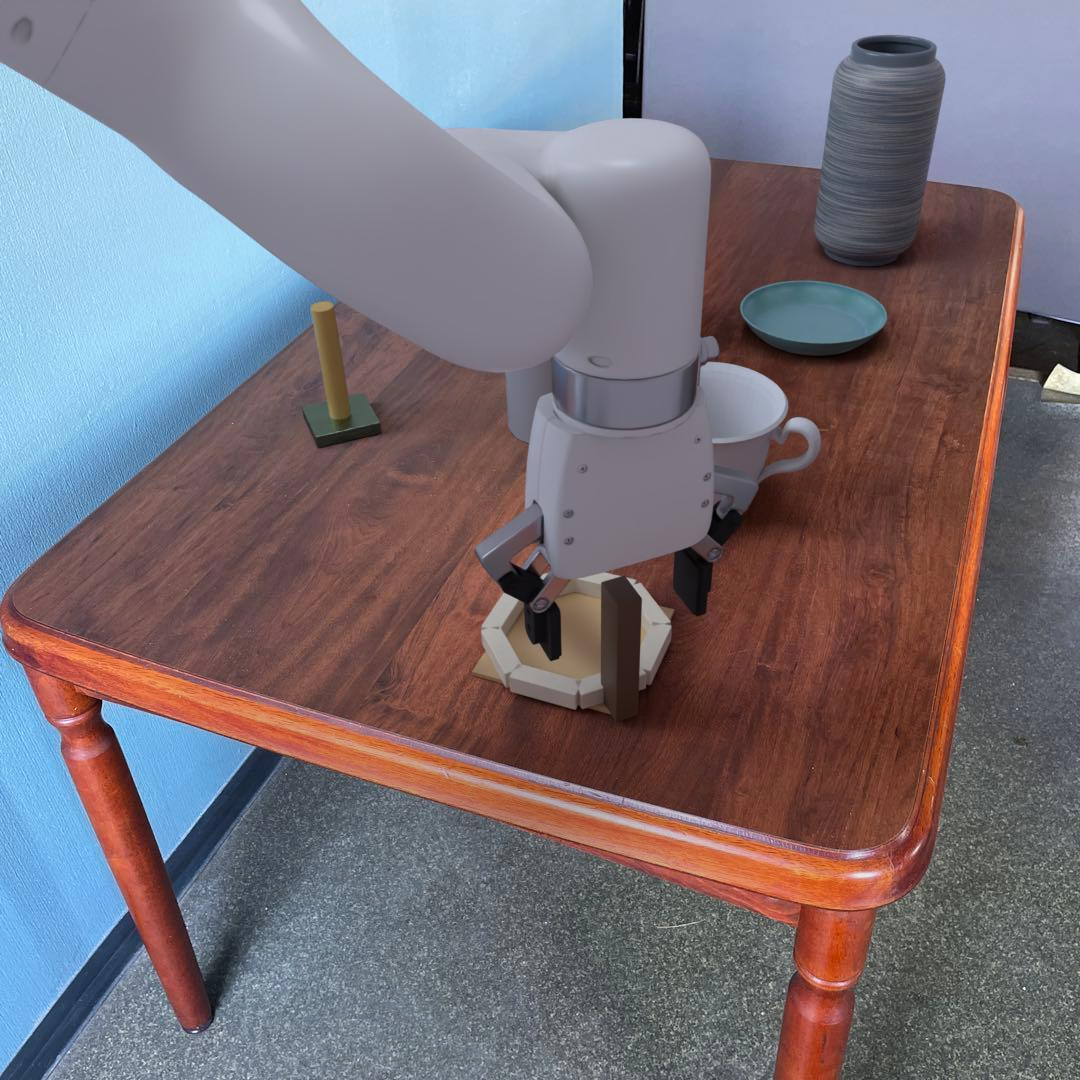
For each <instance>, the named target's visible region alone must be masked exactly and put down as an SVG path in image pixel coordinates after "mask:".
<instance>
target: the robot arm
mask: <svg viewBox="0 0 1080 1080" xmlns="http://www.w3.org/2000/svg"><path fill="white" fill-rule="evenodd" d="M0 63H1V64H3V65H5V66H6V67H7V68H9V69H11V70H12V71H15V73H18V75H19V74H20V75H21V76H22V77H25V78H26V79H27V80H29V81H31V82H33V83H35V84H36V85H38V86H40V87H41V88H42V89H44V90H46V91H48V92H49V93H51V94H53V95H54V96H56V97H57V98H59V99H60V100H62V101H64V102H66V103H68V104H69V105H70V106H72V107H74V108H76V109H78V110H79V111H81V112H82V113H84V114H85V115H87V116H89V117H90V118H92V119H94V120H96V121H97V122H99V123H100V124H102V125H103V126H105V127H107V128H109V129H110V130H112V131H114V132H115V133H116V134H118V135H120V136H122V137H123V138H125V139H126V140H127V141H129V142H130V143H131V144H132V145H133V146H135V147H136V148H137V149H139V150H140V151H141V152H142V153H143V154H145V155H146V156H147V158H149V159H150V160H151V161H152V162H153V163H154V164H155V165H156V166H158V168H159V169H161V170H162V171H163V172H164V173H165V174H167V176H169V177H170V178H172V179H173V180H174V181H175V182H177V183H178V184H179V185H180V186H182V187H183V188H185V190H187V191H189V192H190V193H191V194H193V195H194V196H196V197H197V198H198V199H200V200H202V201H203V202H204V203H205V204H206V205H208V206H209V207H210V208H211V209H213V210H214V211H215V212H217V213H218V214H220V215H221V216H222V217H223V218H225V219H226V220H227V221H229V222H230V223H231V224H232V225H234V226H235V227H236V228H238V229H239V230H240V231H241V232H243V233H244V234H246V236H248V237H249V238H251V239H252V240H253V241H254V242H255V243H256V244H258V245H260V246H261V247H262V248H263V249H264V250H266V251H267V252H269V253H270V254H271V255H273V256H274V257H275V258H277V259H278V260H279V261H280V262H281V263H283V264H284V265H286V266H287V267H288V268H290V269H292V270H293V271H294V272H295V273H297V274H299V275H300V276H301V277H303V278H304V279H306V281H308V282H310V283H312V284H313V285H314V286H316V287H318V288H319V289H320V290H322V291H324V292H325V293H326V294H328V295H330V296H331V297H333V298H334V299H336V300H337V301H339V302H341V303H342V304H344V305H346V306H347V307H349V308H350V309H352V310H354V311H356V312H357V313H359V314H361V316H364V317H367V319H369V320H371V321H373V322H375V323H377V324H379V325H381V327H384V328H386V329H387V330H389V331H391V332H393V333H395V334H396V335H398V336H400V337H401V338H403V339H404V340H407V341H408V342H410V343H412V344H413V345H416V346H417V347H419V348H421V349H423V350H425V351H426V352H428V353H430V354H432V355H434V356H435V357H437V358H440V359H441V360H444V361H446V362H448V363H450V364H454V365H456V366H459V367H461V368H465V369H470V370H473V371H477V372H482V373H483V372H484V373H495V374H501V373H504V374H505V372H516V371H520V370H524V369H528V368H531V367H534V366H536V365H538V364H540V363H543V362H545V361H547V360H549V359H550V358H551V370H552V393H549V394H546V395H543V396H541V397H540V398H539V400H538V402H537V406H536V410H535V414H534V419H533V424H532V429H531V435H530V442H529V443H528V450H527V458H526V459H527V460H526V470H525V485H524V486H525V487H524V510H523V511H521V513H519V514H517V515H516V516H515V517H513V518H512V519H511V520H509V521H508V522H506V523H505V524H504V525H502V526H501V527H500V528H498V529H497V530H496V531H494V532H493V533H492V534H490V535H489V536H487V537H486V538H485V539H483V540H482V541H479V543H478V544H476V546H475V547H474V551H473V553H474V554H475V556H476V558H477V560H478V561H479V563H480V565H481V566H482V568H483V569H484V570H485V571H486V573H487V574H488V576H489V577H491V579H492V580H493V582H495V583H496V584H497V585H498V586H499V588H500V589H501V590H502V592H503V593H506V594H508V595H510V596H512V597H514V598H516V599H518V600H520V601H522V602H524V618H525V629H526V633H527V635H528V638H529V639H530V641H531V643H532V644H533V645H535V644H538V643H539V644H540V645H541V647H542V649H543V650H544V652H545V654H546V655H547V657H548V659H549V660H550V661H554V660H557V659H559V656H562V645H561V612H560V609H559V607H558V605H557V604H556V602H555V599H556V598H557V597H558V596H559V594H560V593H561V592H562V590H563V589H564V588H565V587H566V585H567V584H568V583H569V581H570V580H571V579H577V578H583V577H588V576H592V575H596V574H599V573H603V572H605V573H608V572H611V571H614V570H618V569H620V568H621V569H622V568H625V567H629V566H632V565H635V564H638V563H642V562H645V561H650V560H653V559H656V558H659V557H663V556H665V555H669V554H673V553H674V554H673V570H672V571H673V573H672V574H673V575H672V589H673V591H674V592H675V594H676V595H677V597H678V598H679V599H680V600H681V602H682V603H683V604H684V606H686V608H687V609H688V610H689V611H690V613H691V614H692V615H693V616H696V617H701V616H703V615H705V614H707V610H708V609H707V608H708V596H709V593H710V592H711V591H712V581H713V570H714V563H715V562H718V561H720V559H721V558H722V557H723V555H724V548H723V546H724V545H725V544H726V542H727V541H728V540H729V539H730V538H731V537H732V536H733V535H734V534H735V532H736V531H737V530H738V529H739V528H740V527H741V526H742V525H743V522H744V516H743V514H744V513H745V512H747V511H748V510H749V507H750V506H751V504H752V502H753V500H754V498H755V497H756V495H757V493H758V491H759V489H760V486H759V484H757V483H756V482H755V481H754V480H753V479H752V478H751V477H750V476H749V475H748V474H747V473H745V472H742V471H737V470H733V469H729V468H725V467H720V466H716V465H714V454H713V442H712V432H711V425H710V418H709V412H708V406H707V402H706V397H705V393H704V391H703V389H702V388H701V386H700V385H699V384H700V370H701V366H704V365H706V363H707V362H716V361H717V360H718V359H719V356H720V348H719V343H718V340H717V339H716V338H715V337H714V336H713V335H709V336H703V337H702V336H701V331H702V316H703V315H702V314H703V302H704V301H703V300H704V289H705V287H704V286H705V273H706V260H707V258H706V257H707V245H708V230H709V216H710V205H711V204H710V202H711V190H712V189H711V188H712V164H711V159H710V154H709V152H708V148H707V146H706V145H705V144H704V142H703V140H701V139H702V138H700V137H699V136H698V135H696V134H695V133H694V132H692V131H691V130H689V129H688V128H686V127H684V126H682V125H678V124H675V123H671V122H668V121H664V120H659V119H658V120H657V119H651V118H637V117H635V118H634V117H633V118H632V117H630V118H629V117H628V118H627V117H626V118H625V117H624V118H622V117H621V118H611V119H610V118H609V119H604V120H599V121H594V122H590V123H587V124H584V125H581V126H578V127H576V128H573V129H570V130H529V129H528V130H527V129H509V128H507V129H505V128H492V127H491V128H489V127H447V128H442V127H441V126H440V125H438V124H437V123H436V122H435V121H433V120H432V119H430V118H429V117H428V116H427V115H425V114H424V113H423V112H421V111H420V110H419V109H418V108H417V107H415V106H414V105H413V104H412V103H410V102H409V101H408V100H407V99H405V98H404V97H403V96H402V95H400V94H399V93H398V92H397V91H395V90H394V88H392V87H391V86H389V84H387V83H386V82H385V81H384V80H382V79H381V78H380V77H379V76H378V75H377V74H375V73H374V72H373V71H372V70H371V69H370V68H369V67H367V66H366V65H365V64H364V63H363V62H362V61H360V60H359V58H358V57H356V55H354V54H353V53H352V52H351V51H350V50H349V49H348V48H347V47H346V46H345V45H344V44H342V42H340V41H339V39H337V38H336V37H335V36H334V34H332V33H331V32H330V31H329V29H327V27H326V26H325V25H323V23H322V22H321V21H320V20H319V19H318V18H317V17H316V15H314V14H313V13H312V11H310V9H309V8H308V7H307V6H306V5H305V4H304V3H303V1H302V0H0ZM714 493H717V494H721V495H722V497H721V499H722V500H720V501H718V502H717V503H716V504H715V505H714V506H713V501H714ZM535 544H537V546H536V547H535V548H534V549H533V551H532V552H531V554H530V555H529V556H528V557H527V559H526V560H525V562H524V563H523V564H522V565H521V566H519V565H517V564H515V563H513V562H512V561H511V560H512V559H513V558H514V557H515V556H517V555H518V554H519V553H521V552H522V551H523V550H524V549H527V548H528V547H529V546H530V545H535ZM549 567H550V570H549V571H548V572H547V573H548V574H547V575H546V577H545V578H544V579H543V580H542V579H541V578H540V577H541V576H542V575H543V574H545V573H546V571H547V570H548V569H549Z"/></svg>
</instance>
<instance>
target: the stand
mask: <svg viewBox="0 0 1080 1080" xmlns="http://www.w3.org/2000/svg"><path fill="white" fill-rule="evenodd" d="M310 312H311V318H312V325H313V329H314V335H315V341H316V347H317V352H318V358H319V363H320V370H321V375H322V381H323V386H324V387H323V388H324V393H325V398H326V400H324V401H319V402H314V403H310V404H305V405H302V406H301V410H302V416H303V418H304V421H305V423H306V425H307V427H308V430H309V432H310V434H311V436H312V439H313V441H314V443H315V445H316V447H317V448H318V449H319V448H324V447H328V446H331V445H336V444H340V443H344V442H348V441H353V440H357V439H361V438H367V437H370V436H374V435H379V434H382V425H381V421H380V419H379V418H378V416H377V414H376V412H375V410H374V409H373V407H372V405H371V404H370V401H369V400H368V398H367V396H366V395H365V393H364V392H360V393H359V392H358V393H355V394H351V395H349V391H348V385H347V378H346V372H345V371H346V370H345V366H344V359H343V354H342V353H343V352H342V348H341V343H340V342H341V341H340V334H339V328H338V322H337V315H336V310H335V304H334V303H333V302H331V301H328V300H327V301H326V300H325V301H318V302H314V303H313V304H311V306H310Z"/></svg>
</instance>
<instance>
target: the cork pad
mask: <svg viewBox="0 0 1080 1080" xmlns="http://www.w3.org/2000/svg"><path fill="white" fill-rule="evenodd" d="M555 602H556V604H557V605H558V607H559V609H560V612H561V645H562V656H559V659H557V660H554V661H550V660H549V659H548V657H547V655H546V654H545V652H544V650H543V649H542V647H541V645H540V644H539V643H538V644H535V645H533V644H532V643H531V641H530V639H529V638H528V635H527V633H526V629H525V618H524V608H523V610H522V611H521V613H520V614H519V616H518V617H517V619H516V621H515V622H514V624H513V625H512V627H511V628H510V630H509V632H508V633H507V635H506V638H507V639H508V641H509V643H510V644H511V646H512V648H513V650H514V651H515V653H516V655H517V657H518V658H519V660H520V662H521V664H522V665H526V666H530V667H533V668H537V669H541V670H544V671H548V672H552V673H555V674H559V675H563V676H566V677H570V678H574V679H577V680H580V679H583V678H586V677H589V676H592V675H595V674H598V673H601V598H597V597H592V596H588V595H584V594H580V593H576V592H573V593H569V594H566V595H562V596H559V597H557V598H556V599H555ZM658 606H659V607H660V608H661V609H662V611H663V612H664V613H665V615H666V616H667V617H668V619H669V620H670V621H671V622H672V619H673V617H674V615H675V611H676V610H675V609H674V608H670V607H666V606H662V605H658ZM646 634H647V633H646V631H645V630H644V629H643V627H642V626H641V643H640V646H641V644H642V642H643V640H644V638H645V636H646ZM471 675H472V676H474V677H476V678H481V679H484V680H488V681H490V682H493V683H494V682H495V683H498V684H501V685H504V684H503V682H502V680H501V678H500V676H499V674H498V673H497V671H496V669H495V667H494V665H493V663H492V662H491V660H490V658H489V656H488V654H487V652H486V651H485V650H484V652H483V654H482V655H481V657H480V658H479V660H478V661H477V662H476V665H475V666H474V667H473V669H472V671H471ZM578 707H580V705H578ZM587 709H590V710H593V711H597V712H601V713H604V714H608V715H611V713H610V712H609V710H608V709H607V707H606V705H605V704H604V702H603V703H600V704H597V705H594V706H591V707H588V708H587Z"/></svg>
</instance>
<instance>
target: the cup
mask: <svg viewBox="0 0 1080 1080" xmlns="http://www.w3.org/2000/svg"><path fill="white" fill-rule="evenodd" d="M504 375H505V389H506V408H507V424H508V425H507V426H508V427H507V428H508V431H510V433H511V434H512V435H513V436H514V437H515V438H516V439H517V440H518V441H521V442H524V443H526V444H529V442H530V435H531V429H532V424H533V419H534V414H535V410H536V406H537V402H538V400H539V398H540V397H541V396H543V395H546V394H549V393H552V370H551V358H550V359H549V360H547V361H545V362H543V363H540V364H538V365H536V366H534V367H531V368H528V369H524V370H520V371H516V372H504Z"/></svg>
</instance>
